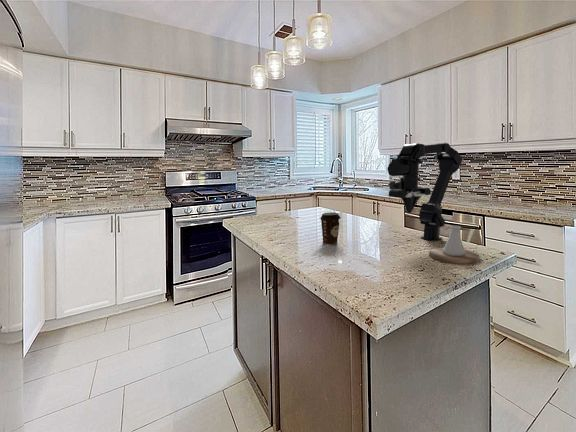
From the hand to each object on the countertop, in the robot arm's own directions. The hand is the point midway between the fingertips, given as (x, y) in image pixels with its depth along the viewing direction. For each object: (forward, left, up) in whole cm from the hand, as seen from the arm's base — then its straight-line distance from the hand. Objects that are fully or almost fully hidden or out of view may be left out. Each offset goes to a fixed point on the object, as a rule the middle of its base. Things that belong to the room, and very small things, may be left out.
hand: (409, 213), depth 131 cm
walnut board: (+2, +22, -13) cm, 26 cm away
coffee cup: (+27, -18, -13) cm, 35 cm away
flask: (+2, +22, -12) cm, 25 cm away
